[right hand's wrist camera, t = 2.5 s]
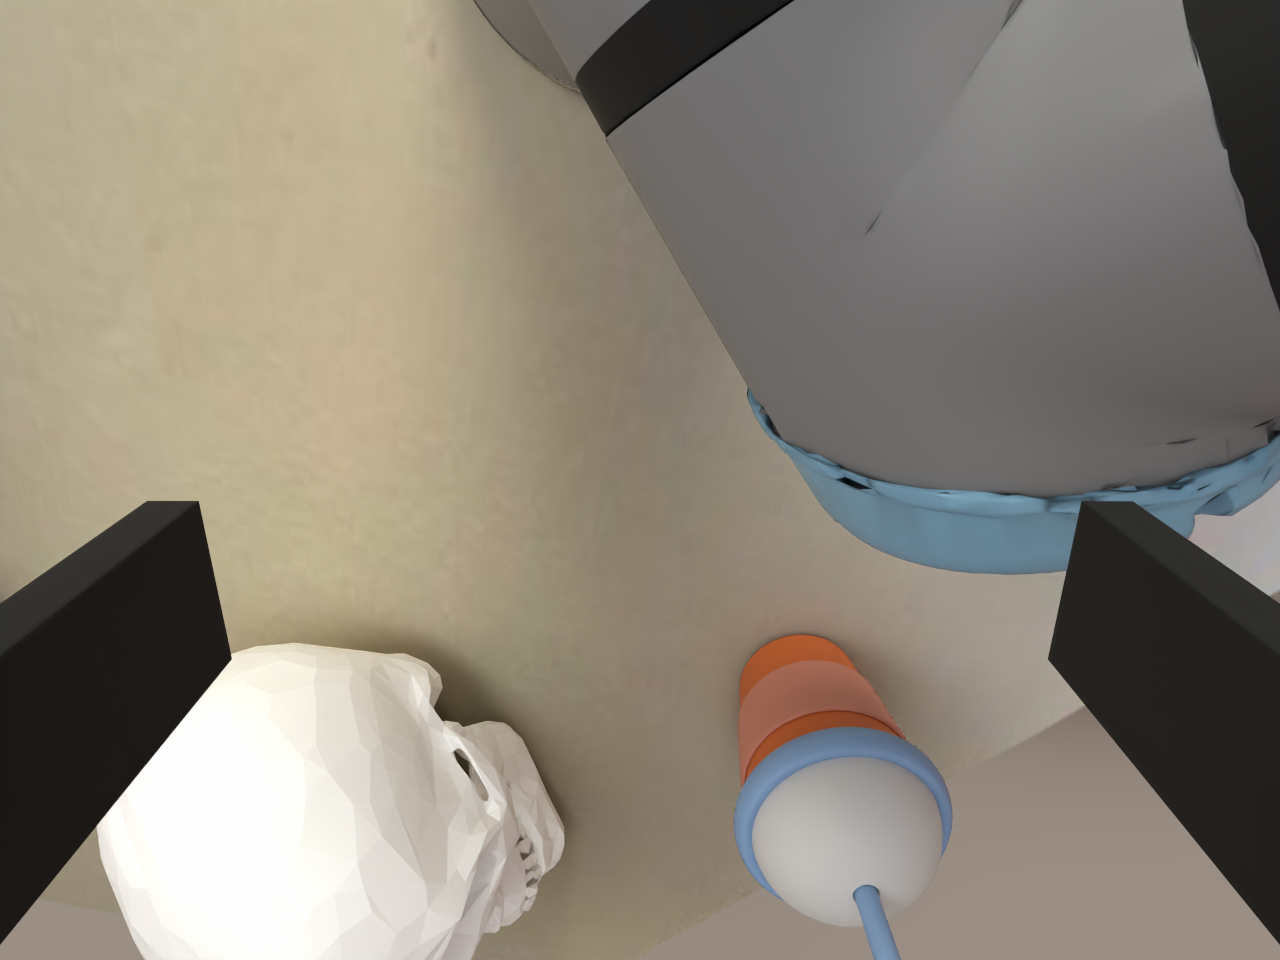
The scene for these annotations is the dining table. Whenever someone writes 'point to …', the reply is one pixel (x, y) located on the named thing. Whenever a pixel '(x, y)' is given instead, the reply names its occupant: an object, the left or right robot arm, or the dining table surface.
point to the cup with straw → (833, 792)
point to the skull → (327, 818)
